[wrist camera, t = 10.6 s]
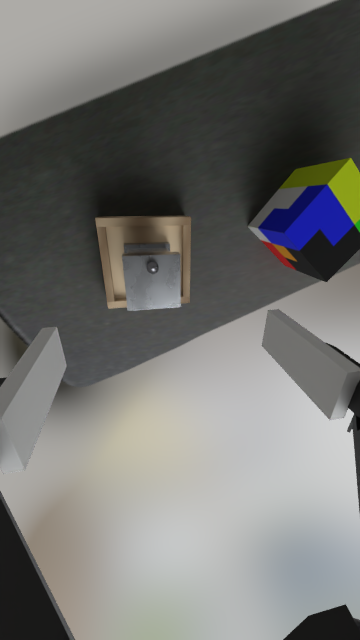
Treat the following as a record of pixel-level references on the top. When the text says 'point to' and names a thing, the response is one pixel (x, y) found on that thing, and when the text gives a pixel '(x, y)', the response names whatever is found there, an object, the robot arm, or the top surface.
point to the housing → (151, 276)
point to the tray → (140, 231)
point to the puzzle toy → (314, 219)
